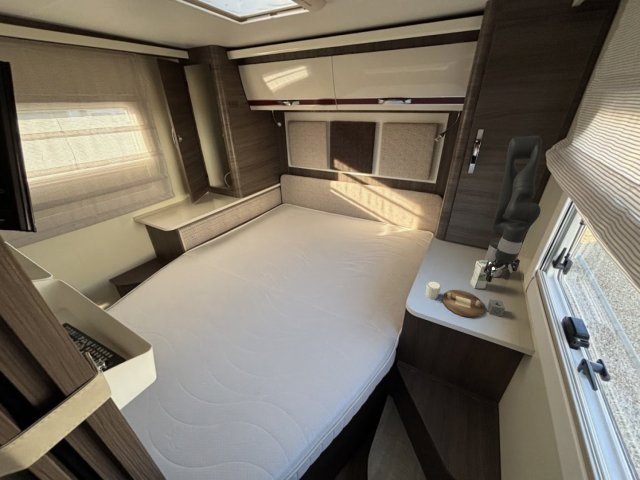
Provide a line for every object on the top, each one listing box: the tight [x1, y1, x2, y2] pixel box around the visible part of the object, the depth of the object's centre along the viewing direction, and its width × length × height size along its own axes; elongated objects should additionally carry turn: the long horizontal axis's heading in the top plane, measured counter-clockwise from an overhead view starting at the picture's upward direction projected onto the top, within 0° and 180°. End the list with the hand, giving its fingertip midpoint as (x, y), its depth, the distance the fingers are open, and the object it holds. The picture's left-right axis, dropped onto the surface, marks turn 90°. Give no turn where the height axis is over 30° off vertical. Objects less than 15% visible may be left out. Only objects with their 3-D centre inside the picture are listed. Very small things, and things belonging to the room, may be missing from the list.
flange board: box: [441, 289, 485, 319], centre depth 127 cm, size 18×18×4 cm
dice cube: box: [487, 298, 506, 317], centre depth 122 cm, size 5×5×5 cm
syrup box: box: [469, 260, 492, 290], centre depth 137 cm, size 6×6×14 cm
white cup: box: [425, 280, 442, 300], centre depth 133 cm, size 7×7×7 cm
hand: (496, 280), depth 116 cm, fingers open, 8 cm apart
